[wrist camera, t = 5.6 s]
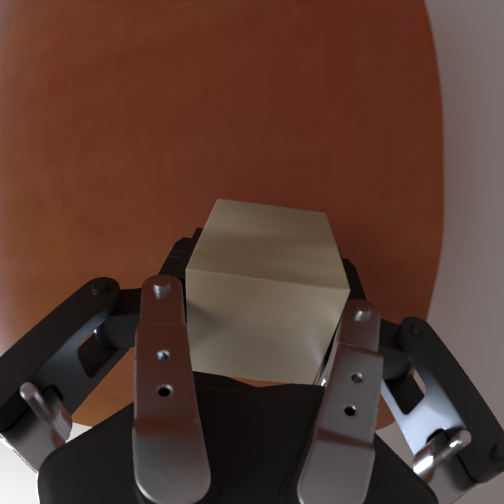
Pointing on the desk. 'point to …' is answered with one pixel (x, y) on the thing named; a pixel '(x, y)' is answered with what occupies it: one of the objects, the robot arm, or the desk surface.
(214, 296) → the block
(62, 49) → the desk surface
